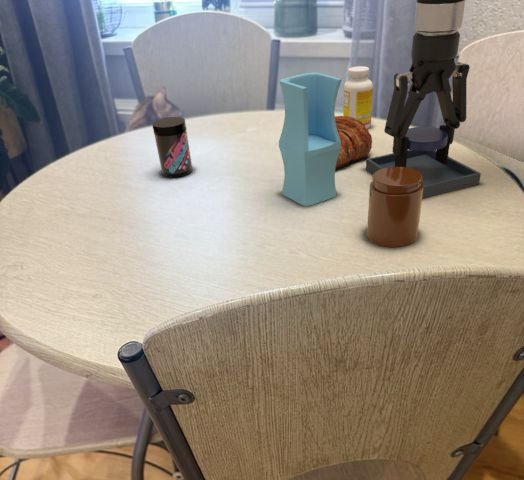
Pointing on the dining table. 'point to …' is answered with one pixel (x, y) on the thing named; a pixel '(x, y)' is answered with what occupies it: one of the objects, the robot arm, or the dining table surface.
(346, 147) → the pastry
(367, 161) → the tray
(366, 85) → the supplement bottle
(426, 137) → the lid
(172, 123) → the supplement container
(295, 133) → the blue toy chair
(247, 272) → the dining table surface
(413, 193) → the jar
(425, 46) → the robot arm
